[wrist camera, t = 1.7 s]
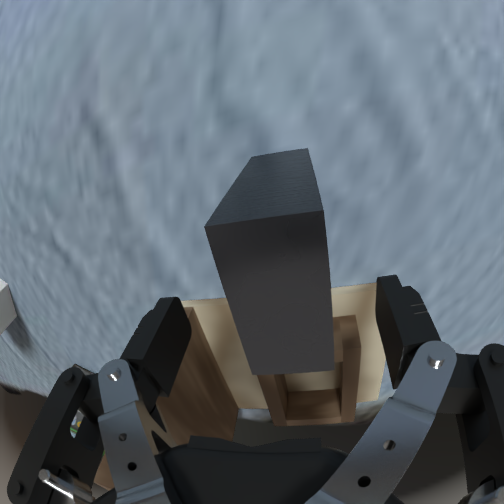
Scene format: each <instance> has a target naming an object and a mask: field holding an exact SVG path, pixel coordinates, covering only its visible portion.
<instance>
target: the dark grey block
mask: <svg viewBox="0 0 504 504" xmlns="http://www.w3.org/2000/svg"><path fill="white" fill-rule="evenodd" d="M204 228H205V231H206V234H207V238H208V241H209V244H210V247H211V251H212V254H213V257H214V260H215V264H216V267H217V270H218V273H219V276H220V280H221V283H222V286H223V289H224V292H225V295H226V298H227V301H228V304H229V308H230V311H231V314H232V317H233V320H234V323H235V326H236V329H237V332H238V335H239V338H240V341H241V343H242V346H243V349H244V352H245V355H246V358H247V361H248V364H249V367H250V369H251V372H252V375H274V374H294V373H309V372H321V371H332V370H335V366H334V333H333V312H332V296H331V282H330V269H329V257H328V247H327V237H326V227H325V219H324V210H323V206H322V202H321V197H320V193H319V189H318V185H317V181H316V177H315V173H314V170H313V166H312V162H311V158H310V155H309V151H308V148H305V149H298V150H291V151H284V152H278V153H271V154H265V155H260V156H254V157H251V159H250V160H249V162H248V163H247V165H246V166H245V167H244V169H243V170H242V172H241V173H240V174H239V176H238V177H237V179H236V180H235V182H234V183H233V185H232V186H231V188H230V189H229V190H228V192H227V193H226V195H225V196H224V198H223V199H222V201H221V202H220V204H219V205H218V207H217V208H216V210H215V211H214V213H213V214H212V216H211V217H210V219H209V220H208V222H207V223H206V225H205V226H204Z"/></svg>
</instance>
